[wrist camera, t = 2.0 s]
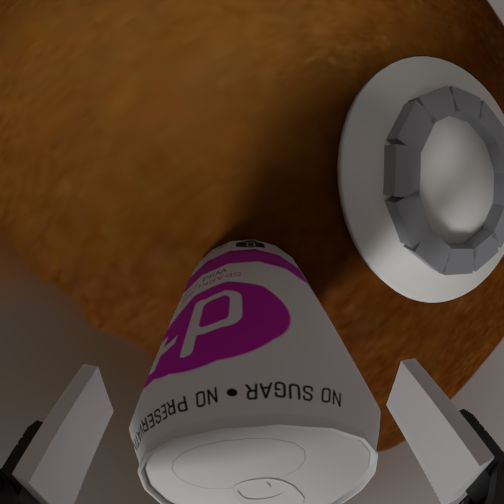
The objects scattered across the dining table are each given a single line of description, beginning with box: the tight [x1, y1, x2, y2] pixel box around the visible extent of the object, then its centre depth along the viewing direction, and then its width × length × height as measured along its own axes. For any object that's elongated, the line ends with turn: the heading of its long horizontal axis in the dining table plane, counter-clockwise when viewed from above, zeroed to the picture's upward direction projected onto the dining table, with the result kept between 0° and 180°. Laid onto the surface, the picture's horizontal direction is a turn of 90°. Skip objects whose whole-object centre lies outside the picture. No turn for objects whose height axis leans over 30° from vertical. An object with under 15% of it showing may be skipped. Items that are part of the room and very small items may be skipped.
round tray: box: [337, 56, 504, 303], centre depth 17 cm, size 20×20×3 cm
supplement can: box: [129, 239, 381, 504], centre depth 13 cm, size 8×8×15 cm
